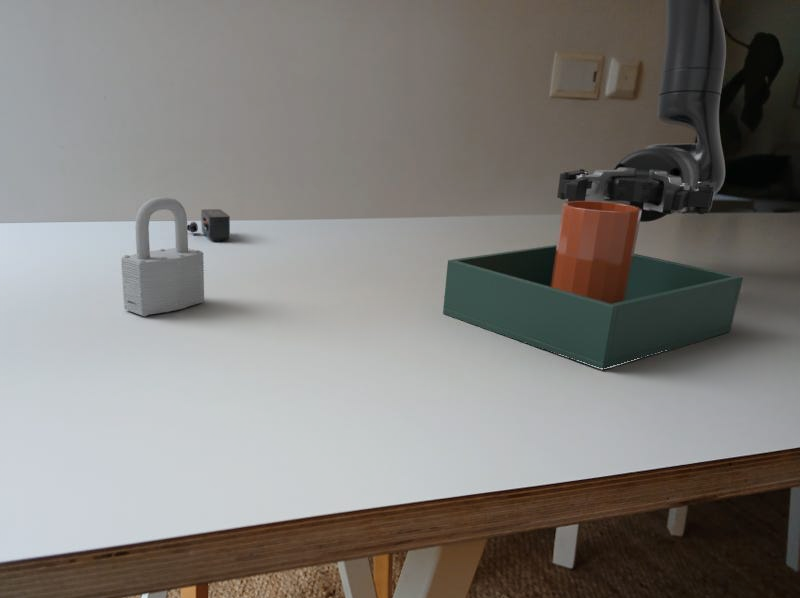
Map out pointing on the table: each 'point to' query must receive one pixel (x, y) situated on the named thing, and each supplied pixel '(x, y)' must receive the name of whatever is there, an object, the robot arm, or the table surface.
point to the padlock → (162, 266)
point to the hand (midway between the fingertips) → (619, 197)
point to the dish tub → (591, 305)
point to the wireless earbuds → (213, 225)
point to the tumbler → (596, 249)
